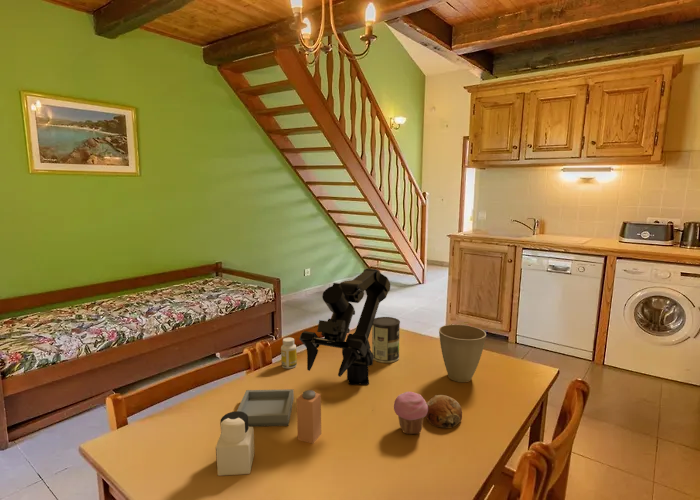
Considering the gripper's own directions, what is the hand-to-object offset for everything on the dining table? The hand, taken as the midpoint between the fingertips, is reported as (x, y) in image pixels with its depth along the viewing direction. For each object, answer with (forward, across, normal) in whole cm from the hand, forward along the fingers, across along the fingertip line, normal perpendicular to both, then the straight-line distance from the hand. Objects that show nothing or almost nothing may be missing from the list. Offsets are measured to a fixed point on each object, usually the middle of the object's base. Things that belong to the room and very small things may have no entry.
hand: (323, 373), depth 109 cm
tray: (+12, -17, +7) cm, 22 cm away
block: (+15, 0, +4) cm, 16 cm away
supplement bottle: (-8, -27, +28) cm, 39 cm away
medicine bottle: (+27, -10, -8) cm, 30 cm away
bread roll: (0, +30, +19) cm, 35 cm away
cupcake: (+6, +23, +13) cm, 27 cm away
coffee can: (-23, +2, +42) cm, 48 cm away
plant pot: (-19, +30, +38) cm, 52 cm away
